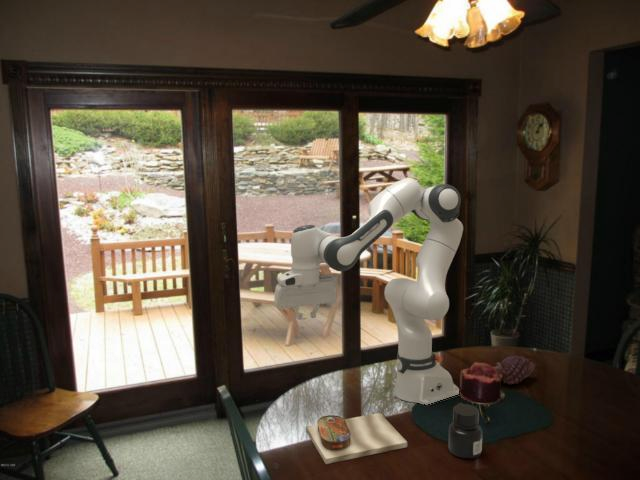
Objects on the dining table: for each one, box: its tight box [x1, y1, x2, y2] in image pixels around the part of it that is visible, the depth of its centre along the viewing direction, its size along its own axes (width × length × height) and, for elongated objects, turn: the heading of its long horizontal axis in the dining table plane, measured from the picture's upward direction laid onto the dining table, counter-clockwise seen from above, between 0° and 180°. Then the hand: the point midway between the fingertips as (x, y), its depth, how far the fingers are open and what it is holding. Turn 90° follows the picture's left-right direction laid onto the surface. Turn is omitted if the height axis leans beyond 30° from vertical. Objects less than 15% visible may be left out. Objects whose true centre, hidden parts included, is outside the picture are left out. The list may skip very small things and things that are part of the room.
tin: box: [316, 414, 351, 449], centre depth 149 cm, size 15×3×8 cm
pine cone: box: [491, 355, 536, 385], centre depth 185 cm, size 18×10×10 cm, turn 109°
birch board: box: [305, 412, 408, 465], centre depth 151 cm, size 24×18×2 cm
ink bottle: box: [447, 403, 483, 459], centre depth 143 cm, size 10×9×12 cm
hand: (306, 318), depth 169 cm, fingers open, 3 cm apart
